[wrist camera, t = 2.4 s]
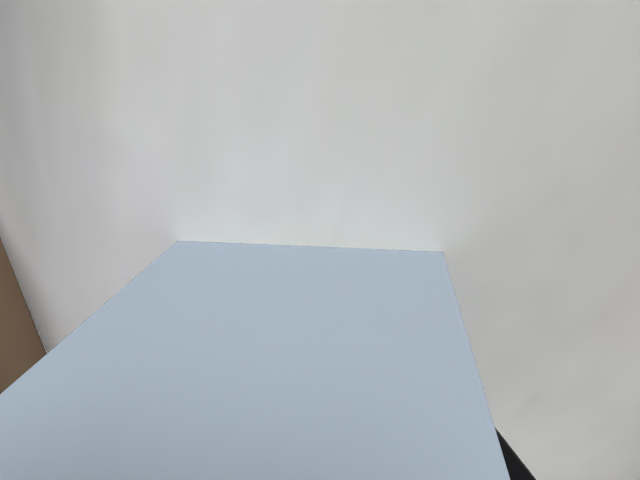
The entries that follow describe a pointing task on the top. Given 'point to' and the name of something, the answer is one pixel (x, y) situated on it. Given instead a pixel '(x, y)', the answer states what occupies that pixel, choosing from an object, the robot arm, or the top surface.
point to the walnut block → (15, 328)
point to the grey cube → (261, 375)
